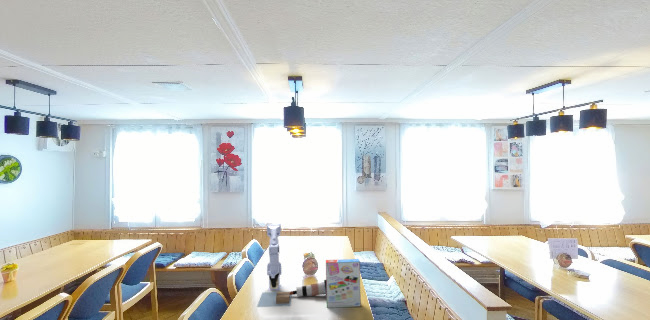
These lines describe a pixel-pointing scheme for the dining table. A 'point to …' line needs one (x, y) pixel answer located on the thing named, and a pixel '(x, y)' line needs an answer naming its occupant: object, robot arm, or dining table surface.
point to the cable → (310, 290)
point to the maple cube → (274, 287)
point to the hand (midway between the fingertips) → (274, 285)
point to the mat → (271, 300)
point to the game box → (343, 283)
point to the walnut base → (282, 297)
